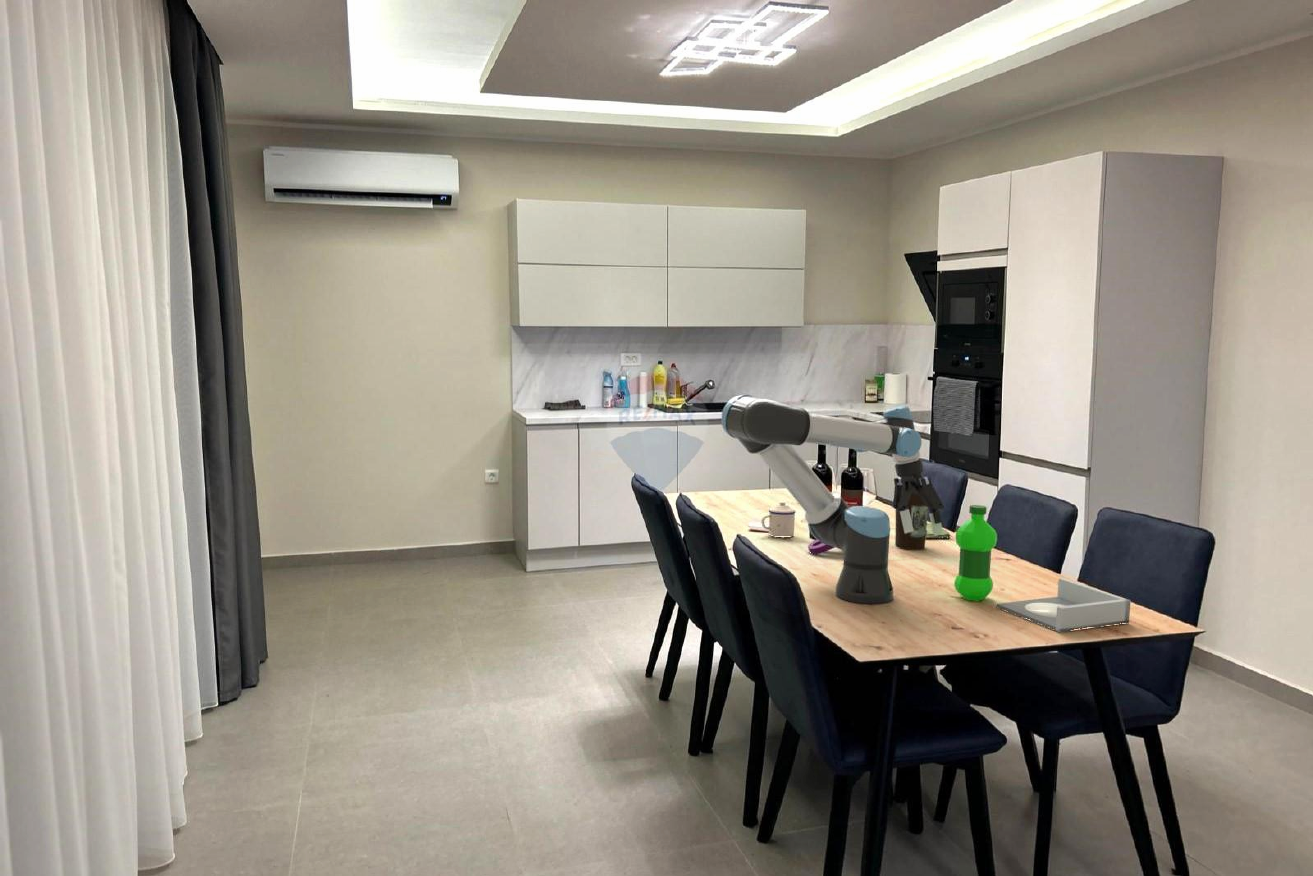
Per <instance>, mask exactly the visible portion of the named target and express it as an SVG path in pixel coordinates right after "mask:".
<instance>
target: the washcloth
mask: <svg viewBox="0 0 1313 876" xmlns="http://www.w3.org/2000/svg"><path fill="white" fill-rule="evenodd" d="M942 529H943V534H940V535H937V536H934V534H933V529H932V525H931V522H927V527H926V530H927V536H926V538H937V539H950V538H951V533H950V532H949V531H947V529H945V528H942ZM942 537H944V538H942ZM947 537H948V538H947Z"/></svg>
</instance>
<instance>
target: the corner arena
mask: <svg viewBox="0 0 1313 876" xmlns="http://www.w3.org/2000/svg"><path fill="white" fill-rule="evenodd" d="M1057 583H1058V586H1057V596H1052V597H1044V598H1036V599H1025V600H1018V601H1017V600H1016V601H1008V602H999V603H996V604H995V607H998V608H997V609H999V608H1000V609H999V610H1001V609H1004V610H1006V611H1008V612H1007V613H1009V612H1010V613H1009V614H1011V613H1013V614H1012V615H1014V614H1016V615H1019V616H1021V617H1023V618H1022V619H1024V618H1027V619H1030V620H1031V621H1033V622H1032V623H1034V622H1035V623H1034V624H1036V623H1039V624H1042V625H1043V626H1042V627H1044V626H1045V628H1046V627H1050V628H1052V629H1054V630H1056V631H1058V632H1057V633H1059V632H1065V633H1068V632H1067V631H1071V630H1074V629H1079V628H1080V629H1082V628H1087V627H1101V626H1106V625H1114V624H1120V623H1121V624H1122V623H1129V624H1130V615H1131V614H1130V613H1131V612H1130V611H1131V601H1132V600H1130V599H1128V598H1124V597H1122V596H1119V595H1116V594H1114V593H1113V594H1112V593H1110V592H1107V591H1103V590H1101V589H1098V588H1096V587H1095V588H1094V587H1091V586H1088V585H1085V584H1082V583H1079V582H1076V581H1073V580H1070V579H1067V578H1064V577H1062V578H1061V577H1059V578H1058V581H1057ZM1004 610H1003V611H1004ZM1006 611H1005V612H1006ZM1016 615H1015V616H1016ZM1019 616H1018V617H1019ZM1021 617H1020V618H1021ZM1031 621H1030V622H1031ZM1039 624H1038V625H1039ZM1054 630H1053V631H1054ZM1056 631H1055V632H1056Z"/></svg>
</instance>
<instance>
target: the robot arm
mask: <svg viewBox="0 0 1313 876" xmlns="http://www.w3.org/2000/svg"><path fill="white" fill-rule="evenodd" d="M720 420H721V422H720V423H721V426H722V428H723V430H724V432H725V433H726V434H727V435H729V436H730V437H732V439H737V440H738V441H739V442H740V444H741V445H742V446H743V447H744V449H746V451H747V452H748V453H749V454H751V455H757V456H759V457H760V459H762V461H763V462H764V463H765V465H766V466H767V467H768V469H769V470H770V471H771V472H772V473H773V474H774V475H775V476H776V478H777V479H778V481H780V483H782V485H783V486H784V487H785V489H786V490H787V491H788V493H790V495H791V496H792V497H793V498H794V500H795V501H797V504H799V505H800V507H802V509H803V510H804V511H805V513H804V519H805V520H806V523H807V525H808V526H807V527H808V530H809V532H810V534H811V535H812V536H813V537H814V538H815V540H816V539H817V540H819V541H820V542H822V543H824V544H826V545H830V546H833V547H835V548H836V549H838V550H841V551H843V566H842V569H841V572H840V575H839V577H838V580H837V583H836V585H835V596H837V597H838V598H839V599H841V600H844V601H846V602H852V603H858V604H868V605H869V604H877V605H878V604H885V603H888V602H891V601H892V600H893V599H894V587H893V584H892V581H891V576H890V574H889V554H890V553H889V551H890V550H889V548H890V537H891V535H890V533H891V524H890V523H891V522H890V516H889V515H888V514H887V513H886V512H885V511H883V510H881V509H878V508H876V507H870V506H866V505H855V506H854V505H853V506H849V505H848V504H847V502H846V501H845V500H844V499H843V497H842V496H841V495H840V494H839V493H838V492H835V491H830V490H829V489H828V487H826V485H825V484H824V483H823V482H822V480H821V479H820V478H819V476H818V475H817V474H816V473H815V472H814V470H813V469H812V468H811V466H809V464H808V463H807V462H806V461H805V459H804V458H803V457H802V455H801V454H800V453H799V452H798V451H797V449H796V448H795V447H794V446H801V445H804V444H805V443H807V444H814V445H815V444H816V445H823V446H830V447H838V448H845V449H852V450H854V451H855V452H857V453H863V452H874V453H882V454H888V455H892V460H893V462H894V463H895V465H894V468H895V473H896V475H897V477H895V478H893V482H894V491H893V492H894V494H893V505H892V507H893V509H895V510H896V509H898V511H899V512H900V517H901V520H902V524H903V528H904V533H909V532H912V531H914V530H913V526H912V521H911V517H910V512H909V509H907V505H908V502H909V499H910V496H911V493H914V494H915V493H916V495H919V496H920V498H921V499H922V501H923V502H924V503H925V505H926V506H927V507H928V516H929V520H930V523H931V525H932V529H933V534H934V536H937V535H940V534H943V529H944V528H943V526H942V519H941V514H940V513H941V512H940V511H941V510H943V509H944V508H945V507H944V504H943V503H942V500H941V498H940V497H939V495H938V492H937V491H936V489H935V487H934V485H933V483H932V480H931V477H930V476H924V477H923V475H922V473H923V472H924V466H923V461H922V459H921V453H920V451H921V448H922V442H923V441H922V437H921V435H920V433H919V432H918V431H917V430H916V429H915V424H914V418H913V415H912V412H911V409H910V407H908V406H906V405H905V406H904V405H903V406H897V407H892V408H888V409H886V410H884V411H883V417H882V418H881V419H878V420H873V421H863V420H862V421H861V420H855V419H851V418H842V417H838V416H831V415H824V414H817V413H812V412H811V413H810V412H809V411H808V410H807V408H804V407H798V406H793V405H789V404H785V403H783V402H781V401H778V400H774V399H771V398H764V397H758V396H753V395H750V394H743V395H741V394H740V395H736V396H734V397H732V398H731V399H730V400H728V401H727V402H726V404H724V407H723V409H722V412H721V419H720ZM897 503H898V504H897ZM905 509H906V510H905Z"/></svg>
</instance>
